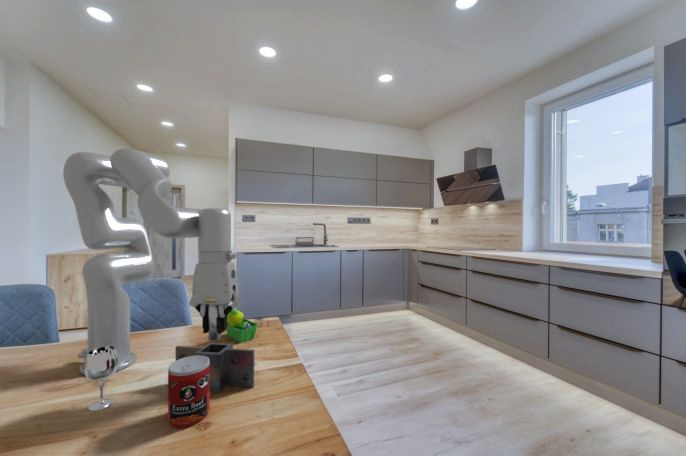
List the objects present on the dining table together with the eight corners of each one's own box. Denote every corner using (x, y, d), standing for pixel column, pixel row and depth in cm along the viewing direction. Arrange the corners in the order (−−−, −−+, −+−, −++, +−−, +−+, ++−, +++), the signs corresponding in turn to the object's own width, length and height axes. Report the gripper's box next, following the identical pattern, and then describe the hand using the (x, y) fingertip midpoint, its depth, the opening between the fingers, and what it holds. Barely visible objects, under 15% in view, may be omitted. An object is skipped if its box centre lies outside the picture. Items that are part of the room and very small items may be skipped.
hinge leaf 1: (232, 378, 77) (232, 343, 77) (219, 392, 70) (219, 354, 70) (184, 375, 78) (184, 341, 78) (167, 388, 72) (167, 351, 72)
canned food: (165, 433, 56) (165, 375, 56) (170, 409, 64) (171, 358, 64) (209, 422, 59) (209, 368, 59) (209, 401, 67) (210, 352, 67)
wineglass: (90, 416, 61) (90, 358, 61) (80, 407, 64) (80, 352, 64) (122, 402, 66) (122, 348, 66) (111, 394, 69) (111, 343, 69)
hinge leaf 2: (194, 390, 71) (194, 353, 71) (209, 377, 78) (209, 342, 78) (247, 394, 70) (248, 356, 70) (258, 380, 76) (258, 345, 76)
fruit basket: (259, 338, 104) (259, 306, 104) (236, 346, 98) (236, 312, 98) (242, 331, 112) (242, 301, 112) (219, 337, 105) (219, 306, 105)
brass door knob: (210, 333, 77) (210, 293, 77) (229, 334, 76) (229, 293, 76) (198, 341, 72) (198, 298, 72) (219, 342, 71) (219, 298, 71)
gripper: (252, 257, 77) (252, 328, 77) (193, 256, 79) (193, 325, 79) (239, 260, 69) (239, 338, 69) (174, 259, 71) (174, 335, 71)
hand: (214, 331), depth 74 cm, fingers closed on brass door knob, 3 cm apart
